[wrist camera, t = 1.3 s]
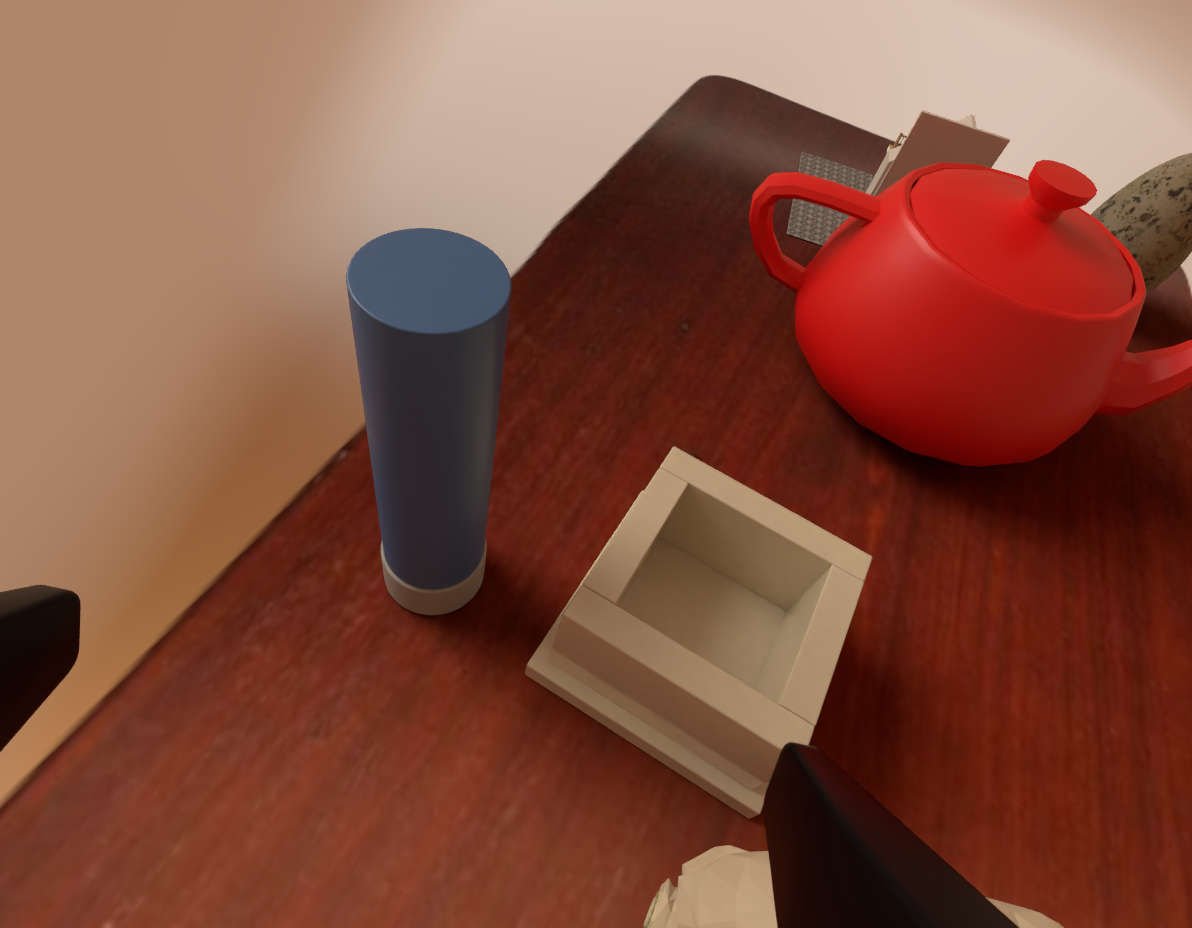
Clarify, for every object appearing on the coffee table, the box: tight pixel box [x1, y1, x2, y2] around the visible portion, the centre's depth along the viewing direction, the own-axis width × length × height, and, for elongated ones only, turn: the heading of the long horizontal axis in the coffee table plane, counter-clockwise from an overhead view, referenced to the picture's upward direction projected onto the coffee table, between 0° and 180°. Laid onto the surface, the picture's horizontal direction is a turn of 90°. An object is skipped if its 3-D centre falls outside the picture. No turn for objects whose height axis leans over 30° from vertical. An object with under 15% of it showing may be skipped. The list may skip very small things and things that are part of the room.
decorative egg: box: [1091, 153, 1192, 293], centre depth 42 cm, size 6×6×10 cm
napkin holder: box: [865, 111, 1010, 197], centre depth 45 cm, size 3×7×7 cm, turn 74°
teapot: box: [749, 160, 1192, 467], centre depth 33 cm, size 25×16×12 cm, turn 69°
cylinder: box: [346, 228, 511, 615], centre depth 20 cm, size 4×4×14 cm
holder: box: [525, 447, 872, 819], centre depth 24 cm, size 9×9×5 cm
